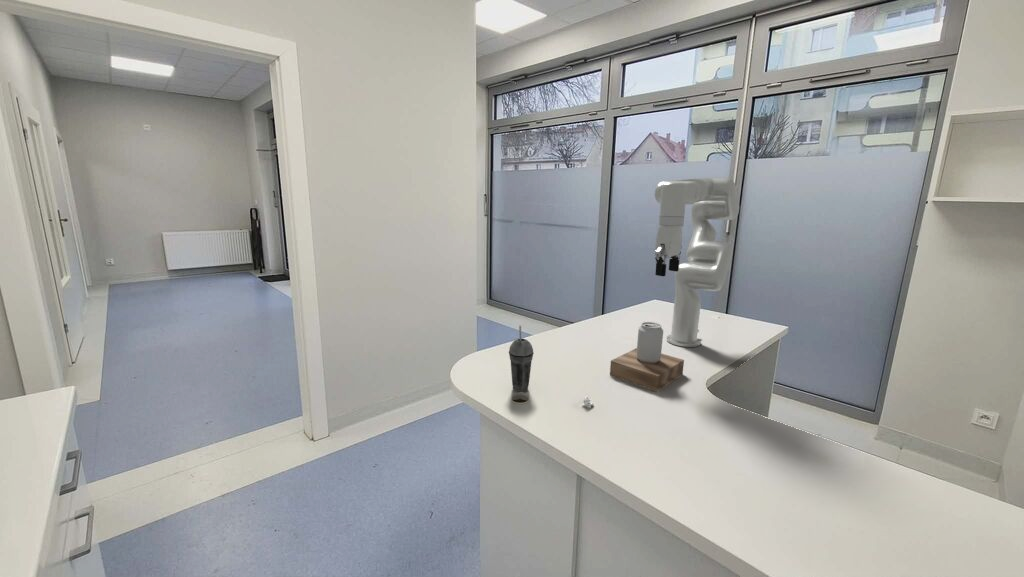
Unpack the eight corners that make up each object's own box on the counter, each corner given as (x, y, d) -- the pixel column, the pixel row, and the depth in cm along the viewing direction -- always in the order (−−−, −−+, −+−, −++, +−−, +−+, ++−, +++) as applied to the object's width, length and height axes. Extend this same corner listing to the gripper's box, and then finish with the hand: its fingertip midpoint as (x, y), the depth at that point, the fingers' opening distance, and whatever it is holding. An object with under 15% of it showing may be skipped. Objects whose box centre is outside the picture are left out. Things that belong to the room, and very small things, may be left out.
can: (632, 355, 139) (635, 320, 136) (654, 355, 139) (658, 320, 137) (641, 364, 132) (644, 328, 129) (664, 364, 132) (668, 327, 130)
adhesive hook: (586, 404, 118) (587, 394, 117) (594, 407, 116) (595, 397, 115) (580, 408, 115) (581, 397, 115) (588, 411, 114) (589, 400, 113)
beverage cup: (536, 386, 127) (538, 322, 122) (526, 396, 120) (528, 330, 116) (514, 381, 130) (515, 319, 125) (503, 391, 123) (504, 326, 119)
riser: (637, 360, 148) (638, 347, 147) (682, 374, 137) (684, 359, 136) (609, 375, 136) (610, 360, 134) (656, 391, 125) (658, 376, 124)
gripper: (671, 218, 145) (667, 267, 149) (647, 223, 133) (644, 276, 137) (693, 220, 140) (688, 270, 144) (670, 224, 128) (666, 279, 132)
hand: (667, 273), depth 141 cm, fingers open, 9 cm apart
